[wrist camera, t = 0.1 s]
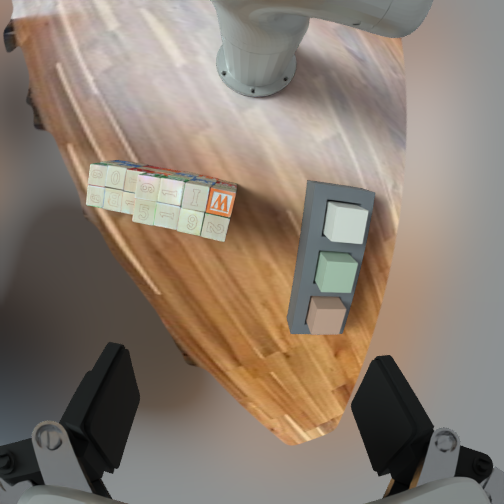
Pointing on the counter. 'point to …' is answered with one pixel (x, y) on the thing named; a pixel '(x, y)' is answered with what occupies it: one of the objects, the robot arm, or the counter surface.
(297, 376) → the counter surface
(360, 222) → the key cream
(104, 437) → the robot arm
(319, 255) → the key sage
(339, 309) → the beige cube
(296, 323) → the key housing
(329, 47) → the counter surface
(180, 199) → the stack of blocks
